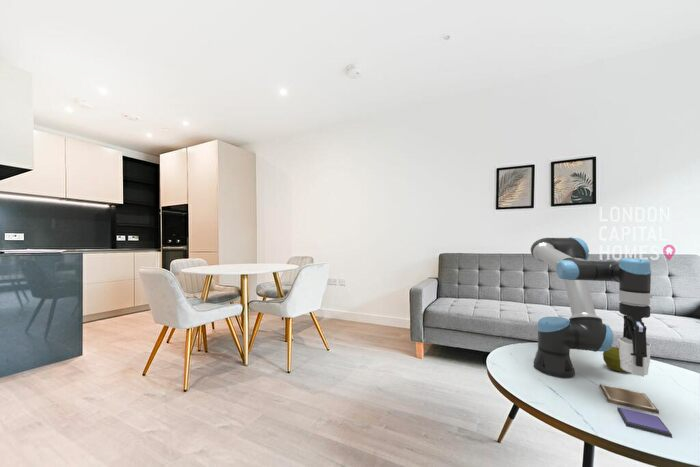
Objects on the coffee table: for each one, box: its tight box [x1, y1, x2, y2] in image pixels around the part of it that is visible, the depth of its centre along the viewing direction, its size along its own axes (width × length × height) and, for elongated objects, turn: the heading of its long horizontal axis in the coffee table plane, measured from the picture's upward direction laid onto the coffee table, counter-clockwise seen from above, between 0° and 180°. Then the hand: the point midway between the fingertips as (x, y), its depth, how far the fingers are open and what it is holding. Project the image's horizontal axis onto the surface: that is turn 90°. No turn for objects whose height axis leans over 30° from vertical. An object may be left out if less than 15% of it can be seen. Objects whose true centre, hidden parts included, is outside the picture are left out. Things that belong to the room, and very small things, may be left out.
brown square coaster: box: [599, 383, 660, 415], centre depth 104 cm, size 13×13×1 cm
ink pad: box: [616, 406, 673, 438], centre depth 91 cm, size 10×10×1 cm
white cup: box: [617, 336, 652, 376], centre depth 97 cm, size 8×8×10 cm
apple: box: [602, 346, 626, 373], centre depth 128 cm, size 10×10×11 cm
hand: (633, 369), depth 97 cm, fingers closed on white cup, 8 cm apart
